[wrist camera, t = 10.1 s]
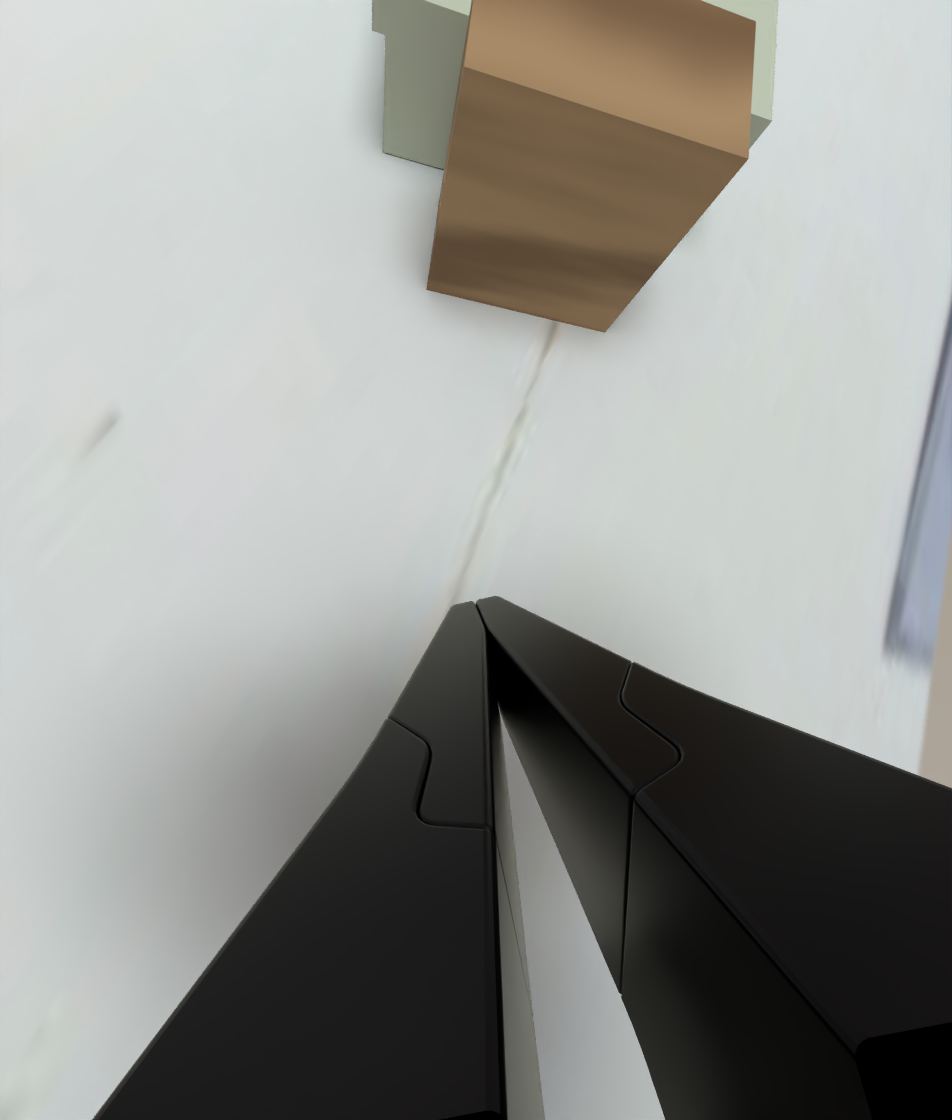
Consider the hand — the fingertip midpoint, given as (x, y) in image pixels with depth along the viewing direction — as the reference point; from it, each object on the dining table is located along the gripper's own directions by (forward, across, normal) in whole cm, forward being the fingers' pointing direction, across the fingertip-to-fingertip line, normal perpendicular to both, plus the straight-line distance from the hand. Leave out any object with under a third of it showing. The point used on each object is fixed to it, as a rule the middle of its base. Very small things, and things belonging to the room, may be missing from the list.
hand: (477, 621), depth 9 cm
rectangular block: (+23, +8, +7) cm, 26 cm away
